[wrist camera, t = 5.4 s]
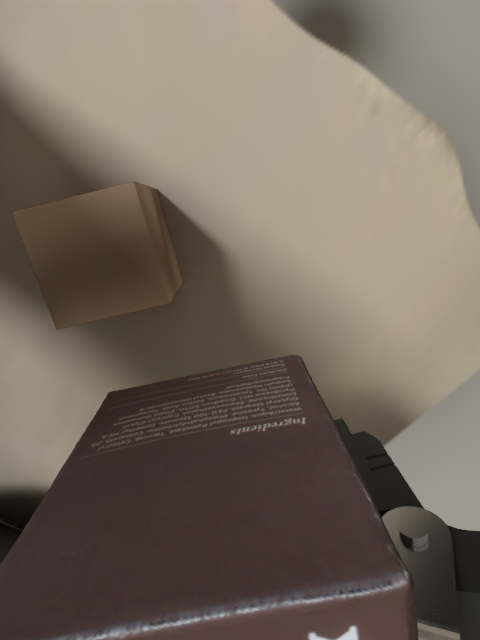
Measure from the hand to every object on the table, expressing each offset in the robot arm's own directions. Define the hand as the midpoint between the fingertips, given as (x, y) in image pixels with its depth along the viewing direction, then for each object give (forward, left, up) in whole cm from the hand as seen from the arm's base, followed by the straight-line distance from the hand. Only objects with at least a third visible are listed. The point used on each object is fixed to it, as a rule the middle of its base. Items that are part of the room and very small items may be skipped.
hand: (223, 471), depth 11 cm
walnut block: (-7, -4, -11) cm, 13 cm away
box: (0, 0, -1) cm, 1 cm away
